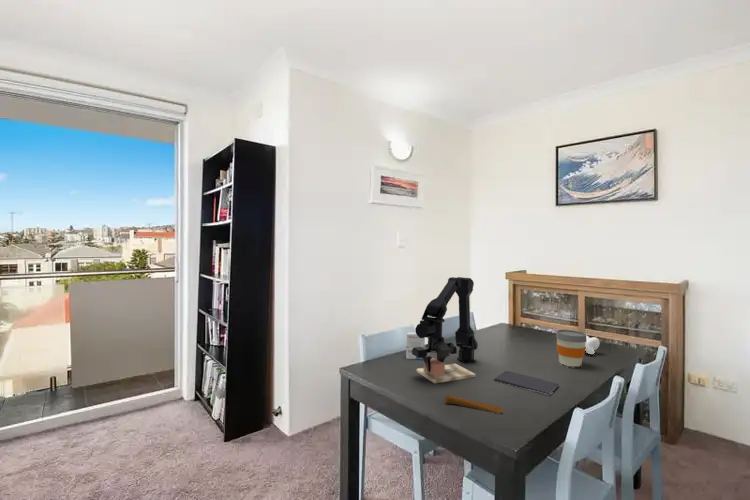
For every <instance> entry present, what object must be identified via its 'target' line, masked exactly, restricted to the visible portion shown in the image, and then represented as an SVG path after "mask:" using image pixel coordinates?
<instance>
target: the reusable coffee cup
mask: <svg viewBox="0 0 750 500" xmlns="http://www.w3.org/2000/svg"><path fill="white" fill-rule="evenodd" d="M586 335H587V334H586V333H584V332H581V331H577V330H572V329H571V330H570V329H558V330H557V331H556V336H555V338H556V343H555V344H556V351H557V354H558V363H559V362H560V363H561V364H564V365H567V366H580V365H581V366H582V363H583V358H584V357H585V355H586V352H585V349H586V347H585V343H586V341H587V340H586Z"/></svg>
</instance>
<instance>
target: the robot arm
mask: <svg viewBox="0 0 750 500" xmlns="http://www.w3.org/2000/svg"><path fill="white" fill-rule="evenodd" d="M474 284H475V281H474V280H473V279H472V278H470V277H463V276H462V277H461V276H458V277H454V276H452V277H449V278H448V279H447V282H446V283H445V285H444V287H443V288H442V290H441V292H440V293H439V294H438V295H437V297H436V298H433V299H432V300H431V301H430V302H429V303H428V304H427V305H426V307H425V310H424V311H423V314H422V316H421V320H420V321H419V323H418V324H417V325H416V327H415V329H414V330H415V333H416V334H417V336H418V337H420V338H426V339H427V344H425V348H422V347H414V348H413V349H412V354H413V355H414V356H416V357H418V358H422V359H421V360H422V361H423V364H424V363H425V365H426V368H427V371H428V372H430V360H431V358H433V357H432V356H431V354H436V359H437V360H439V361H441V362H443V363H445V361H446V359H447V358H448V357H451V355H453V354H457V352H458V357H457V358H456V359H457V360H459V361H460V362H463V363H465V364H467V363H474V362H477V360H476V359H475V350H476V351H477V349H478V347H479V346H478V345H479V344H478V341H477V340H476V339H477V338H476V337H475V332H474V330H473V329H472V327H471V315H470V314H471V311H470V308H471V306H470V305H471V303H470V296H471V294H472V293H473V291H474ZM455 293H456V294H457V296H458V321H459V323H458V324H459V325H458V326H459V327H458V328H457V329H456V330H455V332H454V333H455V336H454V339H455V344H456V345H454V343H453V342H445V337H443V323H444V322H445V319H444V317H445V316H446V315H447V310H448V306H447V305H448V304H449V302H450V300H451V299H452V297H454V295H455ZM457 347H458V348H459V349H458V348H457Z"/></svg>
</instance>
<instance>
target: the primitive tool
mask: <svg viewBox="0 0 750 500" xmlns="http://www.w3.org/2000/svg"><path fill="white" fill-rule="evenodd" d="M444 403H445V404H446V405H449V404H451V405H457V406H459V407H460V406H461V407H467V408H469V407H470V408H469V409H474V408H475V410H479V411H483V410H485V411H484V412H488V411H491V412H490V413H492V412H494V413H493V414H496V413H504V410H503V411H502V409H501V407H502V406H499V405H495V404H489V403H484V402H480V401H475V400H469V399H465V398H461V397H458V396H453V395H451V394H449V393H447V395H446V396H445V398H444Z"/></svg>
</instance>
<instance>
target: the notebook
mask: <svg viewBox="0 0 750 500" xmlns="http://www.w3.org/2000/svg"><path fill="white" fill-rule="evenodd" d="M493 381H494V382H497V381H498V382H497V383H500V382H502V383H501V384H504V383H505V385H507V384H510V385H509V386H511V385H513V386H512V387H515V386H517V387H516V388H518V387H522V388H526V389H531V390H535V391H539V392H543V393H547V394H550V393H551V392H552V391H553V390H554V389H555V388H556V387H558V388H559V386H560V384H559V383H557V382H553V381H549V380H545V379H541V378H537V377H533V376H529V375H525V374H523V373H522V374H521V373H517V372H513V371H510V370H505V371H504V372H502V373H501V374H499V375H497V376H496V377H494V379H493ZM522 388H521V389H522ZM526 389H525V390H526ZM552 393H553V392H552ZM552 393H551V394H552ZM551 394H550V395H551Z"/></svg>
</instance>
